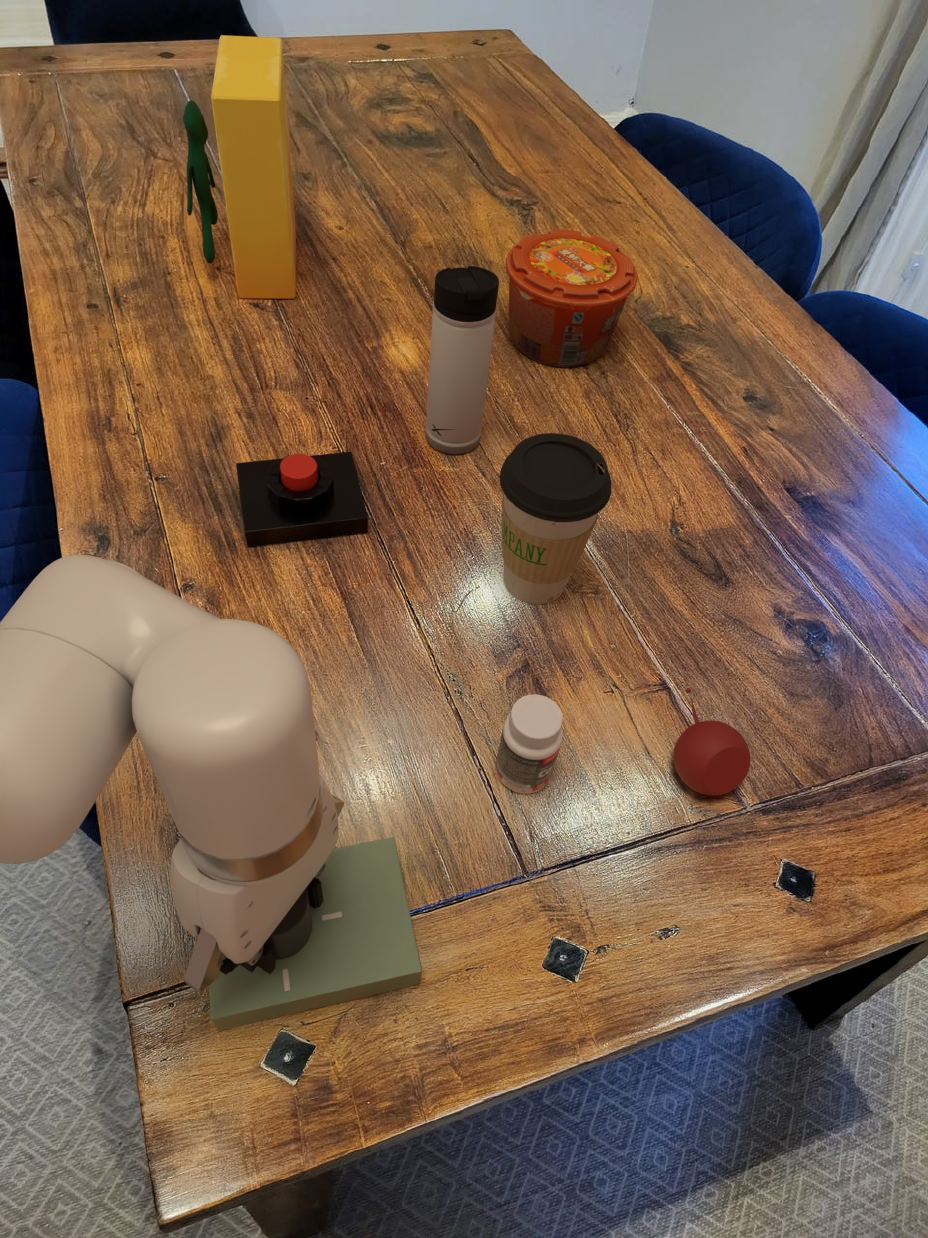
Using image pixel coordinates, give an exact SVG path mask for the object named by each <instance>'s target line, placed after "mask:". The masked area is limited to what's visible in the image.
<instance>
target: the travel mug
mask: <svg viewBox="0 0 928 1238" xmlns="http://www.w3.org/2000/svg"><path fill="white" fill-rule="evenodd" d="M499 286H500V278H499V277H498V275H496V273H494V272H492V271H491V270H489V269H487V268H484V267H480V266H476V265H475V266H473V265H467V267H452V268H451V267H446V268H442V269H441V270H439V271H438V272H437V273H436V274H435V277H434V289H433V290H434V293H433V301H432V316H431V317H432V318H431V332H430V333H431V334H430V352H429V365H428V366H429V368H428V385H427V402H426V418H425V435H424V436H425V439H426V441H427V443H428V444H429V445H430V446H431V447H432V449H433V448H434V449H435V450H436V451H438V452H441V453H443V454H447V455H463V454H467V453H469V452H472V451H473V450H475V449H476V448H477V447H478V446H479V444H480V442H481V438H482V430H483V423H484V414H485V406H486V397H487V391H488V380H489V372H490V365H491V357H492V349H493V340H494V334H495V333H494V331H495V326H496V325H495V324H496V317H497V315H496V314H497V302H498V301H497V300H498V297H499V296H498V295H499Z"/></svg>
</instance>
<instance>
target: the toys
mask: <svg viewBox="0 0 928 1238" xmlns="http://www.w3.org/2000/svg"><path fill="white" fill-rule="evenodd" d="M283 49H284V48H283V40H282V38H280V37H270V36H269V37H268V36H265V37H264V36H247V35H246V36H244V35H226V34H225V35H223V34H221V35H220V37H219V39H218V46H217V53H216V62H215V68H214V76H213V82H212V88H211V95H210V100H211V108H212V115H213V124H214V129H215V130H214V131H215V137H216V143H217V144H216V145H217V152H218V159H219V167H220V174H221V182H222V190H223V196H224V203H225V210H226V219H227V225H228V231H229V232H228V233H229V238H230V239H229V240H230V241H229V242H230V247H231V255H232V261H233V262H232V263H233V268H234V269H233V270H234V277H235V283H236V290H237V291H236V292H237V298H239V299H248V300H249V299H250V300H251V299H255V300H256V299H258V300H260V299H261V300H262V299H263V300H266V299H267V300H268V299H269V300H270V299H271V300H295V299H296V298H297V281H296V280H297V223H296V213H295V212H296V209H295V196H294V184H293V172H292V171H293V170H292V156H291V144H290V142H291V141H290V130H289V117H288V116H289V115H288V101H287V90H286V76H285V75H286V73H285V64H284V63H285V62H284V50H283ZM182 120H183V121H182V122H183V124H184V128H185V131H186V137H187V149H188V150H187V160H186V161H187V162H186V186H187V187H186V188H187V190H186V191H187V192H186V193H187V194H186V195H187V197H186V198H187V201H186V202H187V203H186V211H187V215H188V216H189V217H190V216H192V214H193V205H194V204H193V202H194V197H193V196H194V195H193V191H194V193H195V197H196V201H197V204H198V207H199V211H200V212H199V213H200V222H201V234H202V254H203V257H204V260H205V261H206V263H208V264H212V263H214V261H215V258H216V249H215V243H214V236H213V226H215V225H217V223H218V219H219V213H218V209H217V205H216V203H215V199H214V196H213V194H212V189H215V188H216V182H215V178H214V174H213V171H212V167H211V164H210V161H209V158H208V154H207V151H206V148H205V145H206V144H207V140H208V139H209V130H208V126H207V124H206V122H205V121H206V119H205V116H204V115H203V114H202V111H201V109H200V107H199V106H198V103H196V102H195V101H194V100H192V99H191V100H189V101H187V103H186V105H185V107H184V110H183V116H182ZM193 188H194V190H193ZM212 225H213V226H212Z"/></svg>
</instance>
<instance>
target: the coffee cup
mask: <svg viewBox="0 0 928 1238" xmlns="http://www.w3.org/2000/svg"><path fill="white" fill-rule="evenodd" d="M612 484H613V483H612V478H611V474H610V471H609V468H608V464H607V461H606V460H605V457H604V456H603V455H602V453H601V452H600V451H599V450H598V449H597V448H596V447H595V446H593V445H592V444H590V443H588V442H587V441H585V440H583V439H581V438H579V437H576V436H572V435H569V434H567V433H566V434H565V433H557V432H547V433H538V434H534V435H531V436H529V437H526V438H525V439H522V440H521V441H520V442H519V443H518V444H517V445H515V447H514V448H513V450H512V451H510V453H509V454H508V455H507V456H506V458H504V462H503V463H502V466H501V468H500V471H499V485H500V488H501V490H502V492H503V495H502V500H501V554H502V560H503V562H502V563H503V565H502V567H503V570H502V571H503V573H502V576H503V577H502V579H503V585H504V586H505V589H506V590H507V592H509V594H511V596H513V597H514V598H516V599H517V600H519V601H521V602H522V603H523V602H524V603H526V604H531V605H545V604H549V603H552V602H554V601H555V600H558V598H560V597H561V596H562V594H563V593H564V591H565V589H566V587H567V584H568V582H569V580H570V578H571V576H572V574H573V573H574V572H575V570H576V568H577V566H578V563H579V562H580V560H581V557H582V555H583V553H584V550H585V548H586V546H587V544H588V542H589V539H590V538H591V535H592V533H593V530H594V529H595V526H596V524H597V522H598V519H599V513H600V512H601V511H602V510H604V508H605V507H606V506H607V505H608V503H609V501H610V499H611V496H612Z"/></svg>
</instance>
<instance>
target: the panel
mask: <svg viewBox="0 0 928 1238" xmlns="http://www.w3.org/2000/svg"><path fill="white" fill-rule="evenodd" d="M325 862H326V867H325V870H324V871H323V873H322V874H321V876H320V877H319V880H320V881H321V886H322V894H323V903H322V904H321V905H320V907H319V908H318V907H317V908H316V909H314V908H312V907H311V906H310V911H311V918H312V931H311V935H310V937H309V940H308V941H307V943H306V945H305V946H304V947H303V948H302V949H301V950H300V951H299V952H297V953H296V954H295V955H293V956H291V957H288V958H285V959H279V960H275V962H276V964H275V969H274V970H273V972H272V973H271V974H269V973H267V972H266V971H264V970H263V969H261V968H260V967H258V966H257V967H256V969H255V970H254V971H253V972H250V971H248V970H247V969H245V968H244V967H242V966H241V965H239V966H238V967H236V968H235V969H234V970H233V971H232V972H229V973H228V974H226V975H225V974H224V973H222V972H221V973H220V974H219V977H218V978H217V979H216V980H215V981H214V982H213V983H211V984H210V985H209V986H208V991H209V993H208V996H209V1009H210V1020H211V1022H212V1023H213V1025H214V1027H215V1029H216V1031H218V1032H221V1031H225V1030H229V1029H233V1028H237V1027H242V1026H246V1025H250V1024H255V1023H259V1022H263V1021H267V1020H272V1019H276V1018H280V1017H284V1016H289V1015H294V1014H297V1013H301V1012H306V1011H310V1010H314V1009H319V1008H323V1007H328V1006H331V1005H336V1004H341V1003H346V1002H349V1001H354V1000H358V999H362V998H366V997H370V996H375V995H379V994H384V993H388V992H392V991H396V990H397V991H398V990H401V989H405V988H409V987H414V986H418V985H421V980H422V973H423V970H422V969H423V968H422V964H421V963H422V962H421V958H420V955H419V949H418V944H417V941H416V936H415V930H414V926H413V921H412V917H411V916H412V915H411V911H410V907H409V902H408V897H407V893H406V887H405V882H404V877H403V873H402V868H401V864H400V858H399V854H398V848H397V844H396V840H395V837H394V836H392V837H388V838H382V839H376V840H371V841H366V842H362V843H357V844H352V845H351V844H350V845H345V846H341V847H334V849H333V850H332V852H331V854H330V855H329V857H328V858H327V860H326V861H325Z"/></svg>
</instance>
